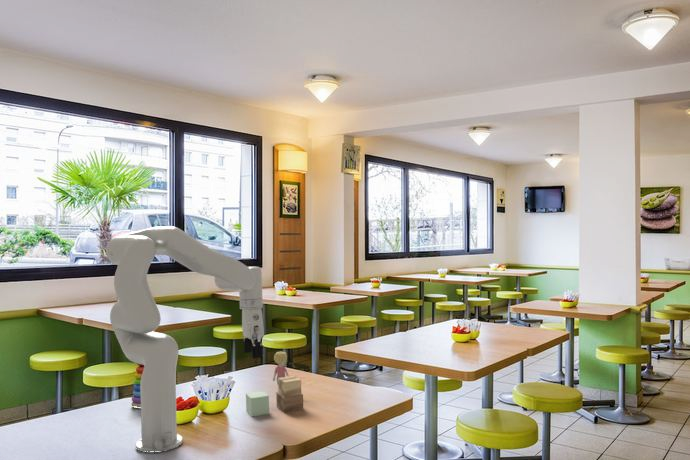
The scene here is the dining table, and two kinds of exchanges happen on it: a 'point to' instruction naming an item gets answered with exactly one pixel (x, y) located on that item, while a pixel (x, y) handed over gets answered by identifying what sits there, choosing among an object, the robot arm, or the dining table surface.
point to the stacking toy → (137, 386)
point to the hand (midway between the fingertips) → (252, 355)
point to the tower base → (289, 402)
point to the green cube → (257, 403)
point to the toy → (280, 365)
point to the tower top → (289, 386)
